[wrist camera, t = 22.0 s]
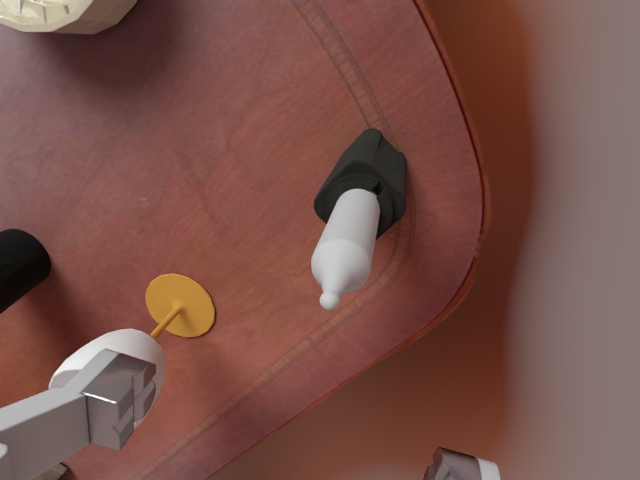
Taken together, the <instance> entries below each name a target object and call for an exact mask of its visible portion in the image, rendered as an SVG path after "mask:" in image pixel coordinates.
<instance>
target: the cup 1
mask: <svg viewBox="0 0 640 480" xmlns="http://www.w3.org/2000/svg"><path fill="white" fill-rule="evenodd" d="M50 267H51V265H50V259H49V256H48V254H47V252H46V250H45V249H44V247H43V246H42V245H41V243H40V242H39V241H38V240H37V239H35V238H34V237H33V236H32V235H30V234H28V233H27V232H24V231H21V230H18V229H8V230H5V231H2V232H0V314H1V313H2V312H3V311H5V310H6V309H7V308H9V307H10V306H11V305H12V304H14V303H15V302H16V301H17V300H19V299H20V298H21V297H23V296H24V295H25V294H26V293H28V292H29V291H30V290H32V289H33V288H34V287H35V286H37V285H38V284H39V283H41V282H42V281H43V280H44V279H45V278H46V277H47V276H48V275H49V273H50Z"/></svg>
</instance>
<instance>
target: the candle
mask: <svg viewBox="0 0 640 480" xmlns="http://www.w3.org/2000/svg"><path fill="white" fill-rule="evenodd" d="M314 209H315V212H316V214H317V215H318V216H319V218H320V219H322V220H323V221H324V222H325V223H326V224H327V225H326V227H325V229H324V231H323V234H322V236H321V238H320V240H319V242H318V244H317V247H316V249H315V251H314V253H313V256H312V260H311V269H312V273H313V275H314V277H315V279H316V281H317V282H318V283H319V284H320V285H321V286H322V289H323V294H322V295H321V297H320V304H321V306H322V307H323V308H324V309H326V310H329V311H333V310H335V309H337V308H338V307H339V305H340V298H341V297H342V296H343V295H344V294H345V293H350V292H353V291H356V290H358V289H359V288H361V287H362V286H363V285H364V284H365V282H366V281H367V280H368V277H369V275H370V271H371V265H372V259H373V252H374V246H375V241H376V240H377V239H378V238H379V237H380V236H381V235H382V234H383V233H384V232H386V231H387V230H388V229H389V228H390V227H391V226H392V225H393V224H395V223H396V222H397V221H398V220H399V219H400V218H401V217H402V216H403V215H404V212H405V210H406V158H405V156H404V154H403V153H402V152H398V151H397V150H396V149H395V148H394V147H393V146H392V145H391V144H390V143H389V142H388V141H387V140H386V139H385V138H384V137H383V136H382V132H380V131H379V130H377V129H368V130H366V131H364V132H363V133H362V134H361V135H360V136H359V137H358V138H357V139H356V141H355V142H354V143H353V144H352V145H351V146H350V147H349V148H348V149H347V150H346V151H345V152H344V153H343V155H342V156H341V157H340V159H339V161H338V162H337V164H336V166H335V167H334V169H333V170H332V172H331V174H330V175H329V177H328V178H327V180H326V182H325V183H324V185H323V186H322V188H321V190H320V191H319V193H318V194H317V196H316V198H315V200H314Z"/></svg>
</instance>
